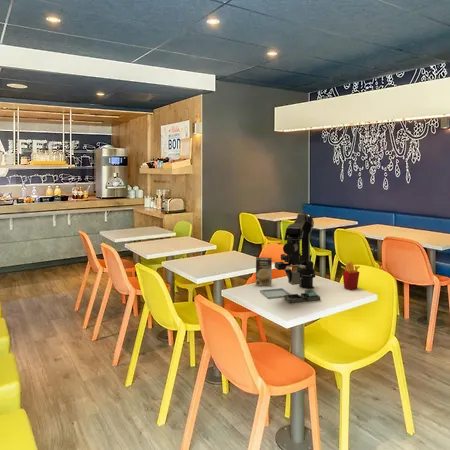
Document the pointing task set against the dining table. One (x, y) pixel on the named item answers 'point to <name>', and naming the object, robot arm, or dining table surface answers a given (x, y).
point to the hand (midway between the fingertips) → (293, 281)
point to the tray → (274, 293)
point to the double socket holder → (302, 298)
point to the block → (295, 277)
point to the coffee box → (263, 271)
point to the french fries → (350, 276)
